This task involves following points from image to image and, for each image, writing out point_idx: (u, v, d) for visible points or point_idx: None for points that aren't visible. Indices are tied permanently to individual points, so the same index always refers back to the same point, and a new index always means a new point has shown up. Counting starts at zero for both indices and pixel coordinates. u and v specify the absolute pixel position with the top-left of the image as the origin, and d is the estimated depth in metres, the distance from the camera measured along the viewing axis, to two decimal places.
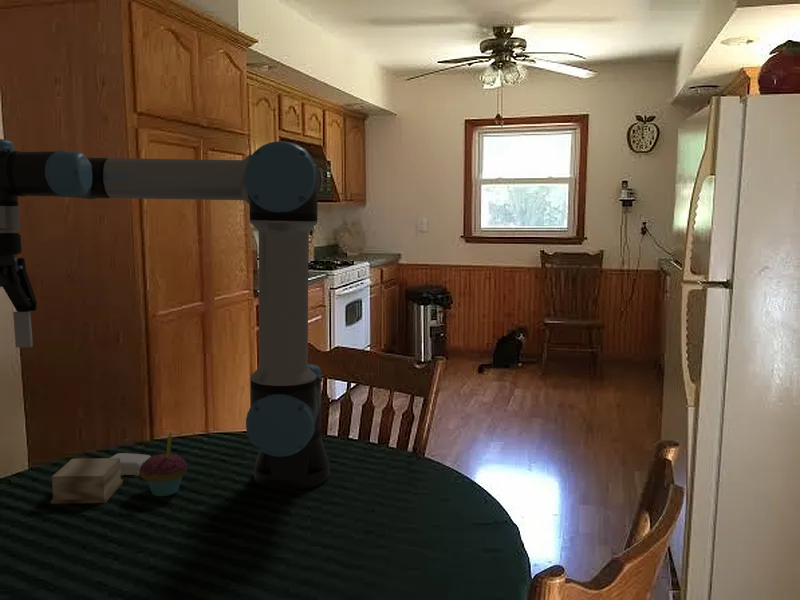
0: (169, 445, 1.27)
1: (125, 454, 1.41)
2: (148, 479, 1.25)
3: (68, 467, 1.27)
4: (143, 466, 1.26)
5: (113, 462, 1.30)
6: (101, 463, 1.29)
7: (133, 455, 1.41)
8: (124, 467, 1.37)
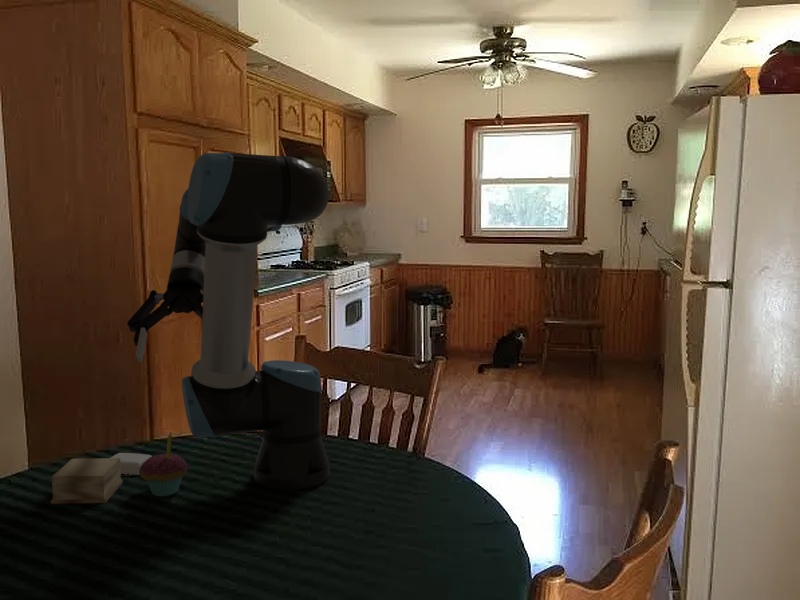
0: (169, 445, 1.27)
1: (126, 454, 1.42)
2: (148, 479, 1.25)
3: (68, 467, 1.27)
4: (143, 466, 1.26)
5: (113, 462, 1.30)
6: (101, 463, 1.29)
7: (134, 455, 1.41)
8: (125, 467, 1.37)
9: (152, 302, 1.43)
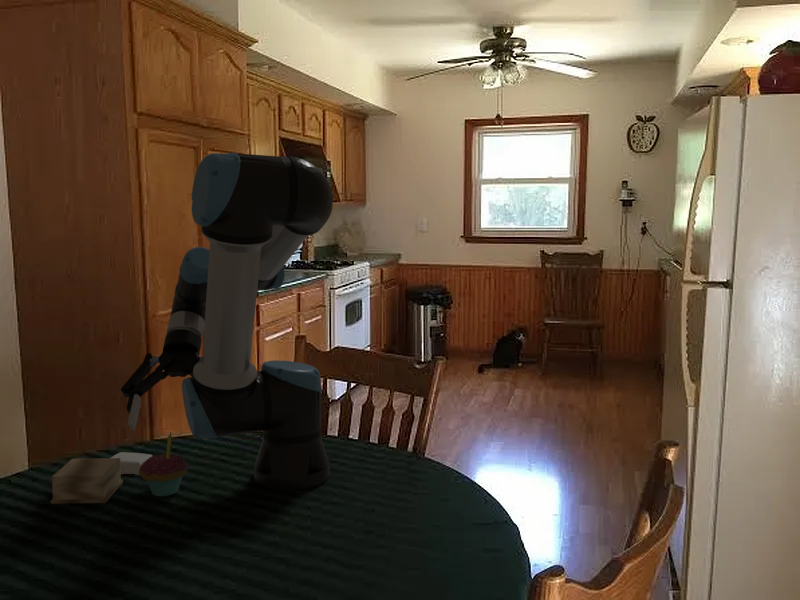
0: (169, 445, 1.27)
1: (127, 453, 1.42)
2: (148, 479, 1.25)
3: (68, 467, 1.27)
4: (143, 466, 1.26)
5: (113, 462, 1.30)
6: (101, 463, 1.29)
7: (135, 454, 1.41)
8: (126, 466, 1.37)
9: (147, 366, 1.40)
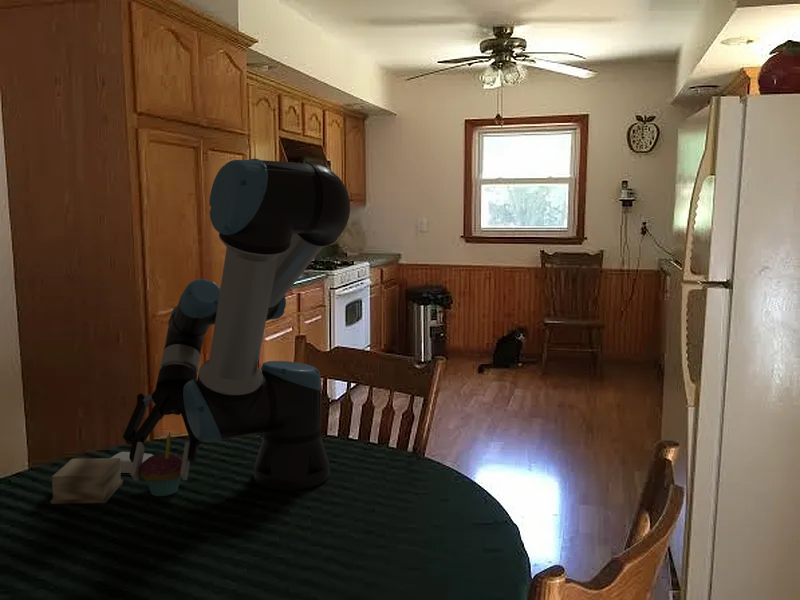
0: (168, 445, 1.27)
1: (128, 453, 1.42)
2: (147, 479, 1.25)
3: (68, 467, 1.27)
4: (142, 466, 1.26)
5: (113, 462, 1.30)
6: (101, 463, 1.29)
7: None
8: (126, 465, 1.38)
9: (142, 407, 1.33)
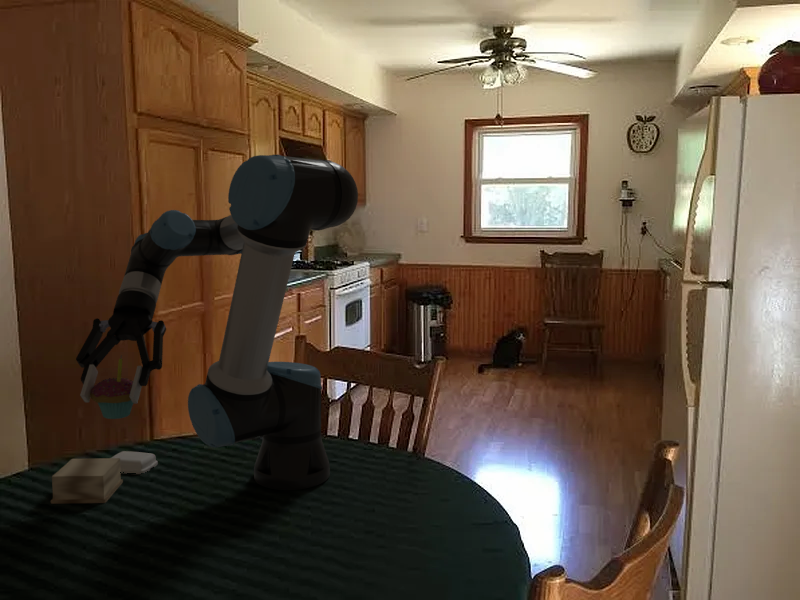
0: (120, 368, 1.26)
1: (129, 452, 1.42)
2: (97, 400, 1.24)
3: (68, 467, 1.27)
4: (94, 388, 1.26)
5: (113, 462, 1.30)
6: (101, 463, 1.29)
7: (137, 453, 1.42)
8: (127, 465, 1.38)
9: (98, 331, 1.32)
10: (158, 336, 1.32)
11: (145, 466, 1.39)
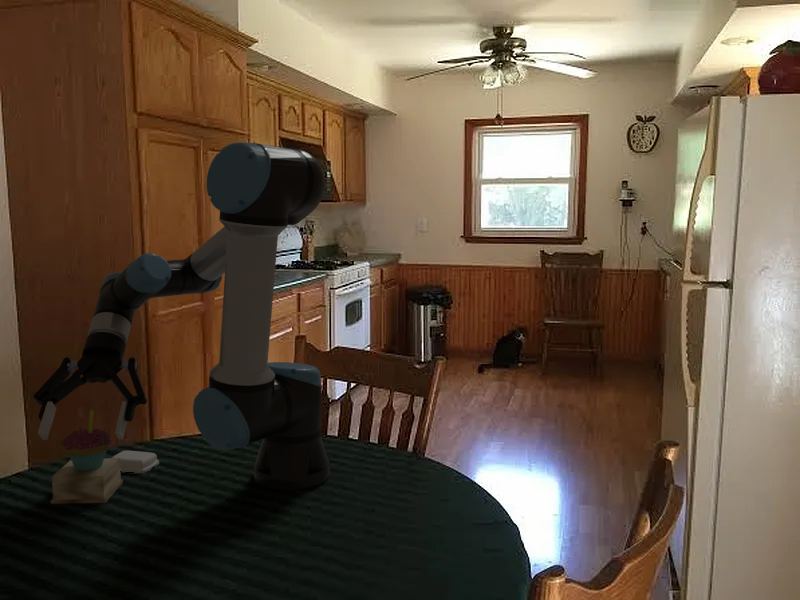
0: (91, 419, 1.25)
1: (131, 451, 1.43)
2: (68, 453, 1.23)
3: (68, 467, 1.27)
4: (64, 440, 1.25)
5: (113, 462, 1.30)
6: None
7: (138, 453, 1.42)
8: (129, 464, 1.38)
9: (64, 371, 1.31)
10: (134, 372, 1.32)
11: (146, 465, 1.39)
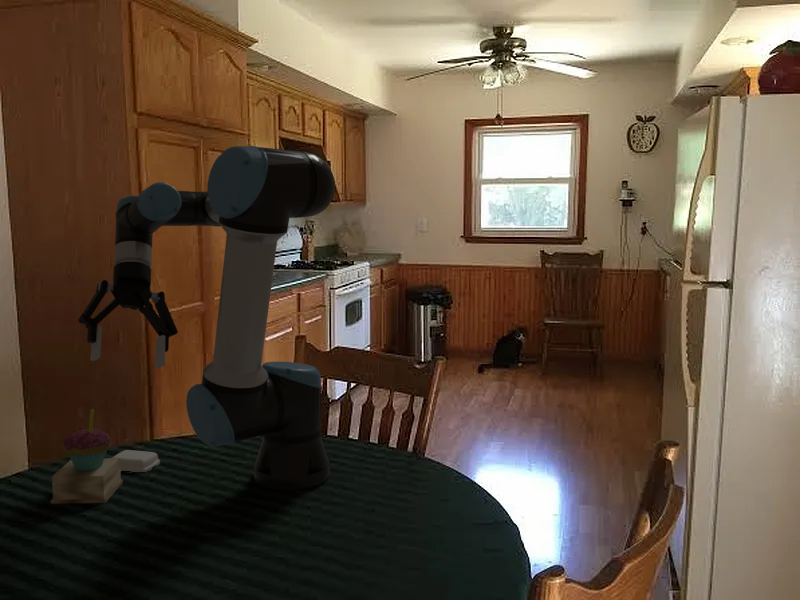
0: (91, 419, 1.25)
1: (132, 451, 1.43)
2: (68, 453, 1.23)
3: (68, 467, 1.27)
4: (65, 440, 1.25)
5: (113, 462, 1.30)
6: None
7: (139, 452, 1.43)
8: (129, 464, 1.39)
9: (104, 294, 1.38)
10: (166, 307, 1.47)
11: (147, 465, 1.39)
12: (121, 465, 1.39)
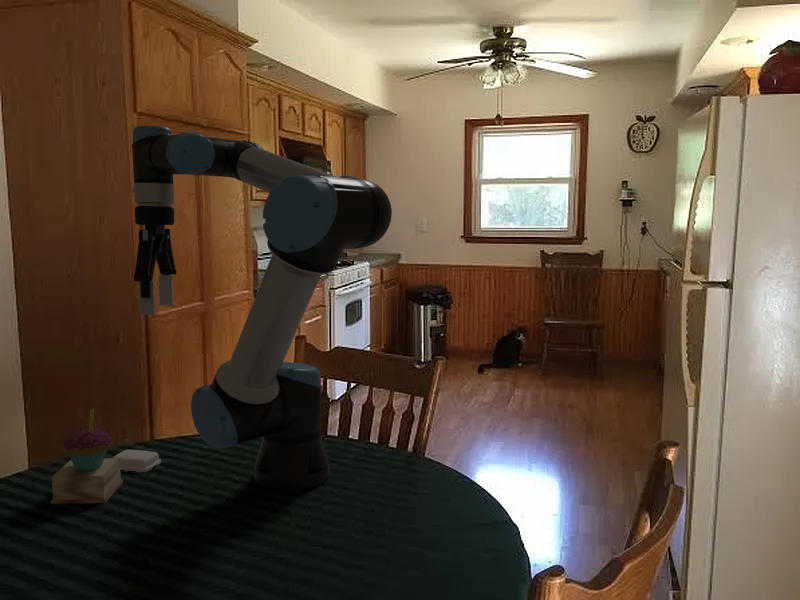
0: (91, 419, 1.25)
1: (133, 450, 1.43)
2: (68, 453, 1.23)
3: (68, 467, 1.27)
4: (65, 440, 1.25)
5: (113, 462, 1.30)
6: None
7: (140, 452, 1.43)
8: (130, 463, 1.39)
9: None
10: (171, 245, 1.45)
11: (148, 464, 1.40)
12: (122, 464, 1.39)
